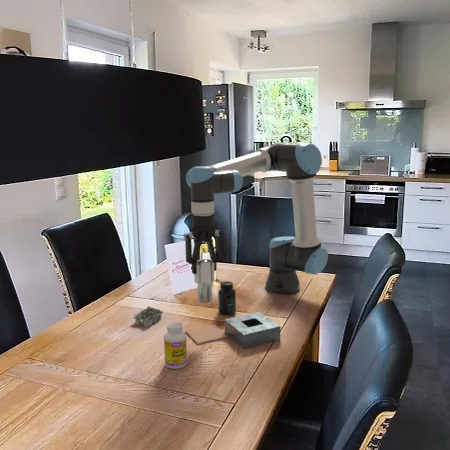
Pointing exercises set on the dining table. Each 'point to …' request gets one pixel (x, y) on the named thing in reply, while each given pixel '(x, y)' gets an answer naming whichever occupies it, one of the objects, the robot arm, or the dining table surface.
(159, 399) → the dining table surface
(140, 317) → the grey lumpy block
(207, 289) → the steel plug
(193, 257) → the robot arm
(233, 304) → the supplement bottle
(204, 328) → the rubber pad
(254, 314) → the bored block
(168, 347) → the supplement bottle
